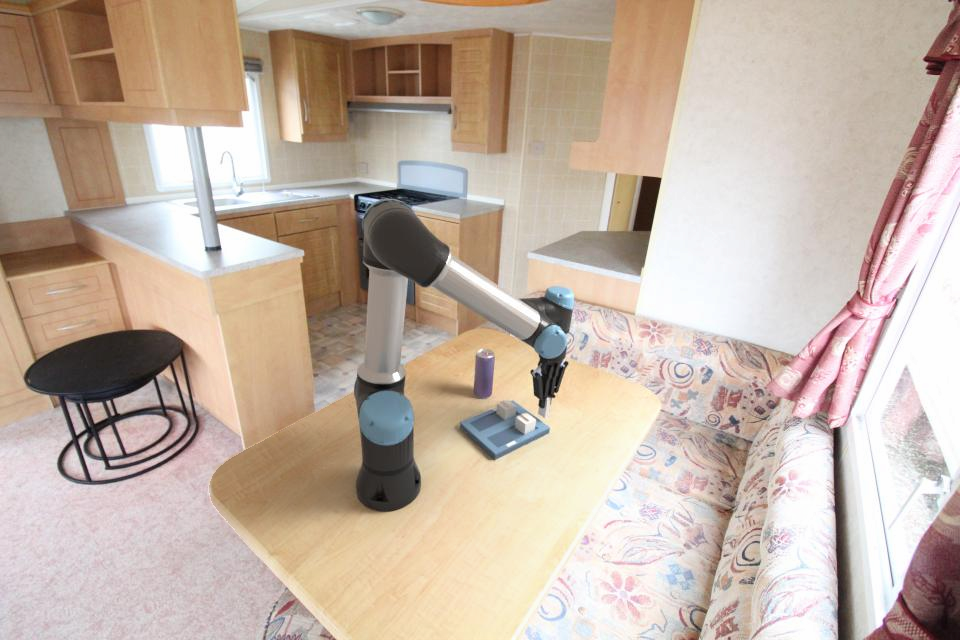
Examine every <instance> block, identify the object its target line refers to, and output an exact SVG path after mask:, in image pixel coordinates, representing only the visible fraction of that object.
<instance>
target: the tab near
mask: <svg viewBox="0 0 960 640" xmlns="http://www.w3.org/2000/svg"><path fill="white" fill-rule="evenodd" d="M535 425H536V419H535V418H533V417H532V416H531V415H529V414H528V413H527V412H526V413H523V414H521V415H520V416H517V417H516V422H515V428H517V429H518V430H519V431H520V432H522V433H523V434H524V435H525V434H527V433H529V432H531V431H533V430H535Z"/></svg>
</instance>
